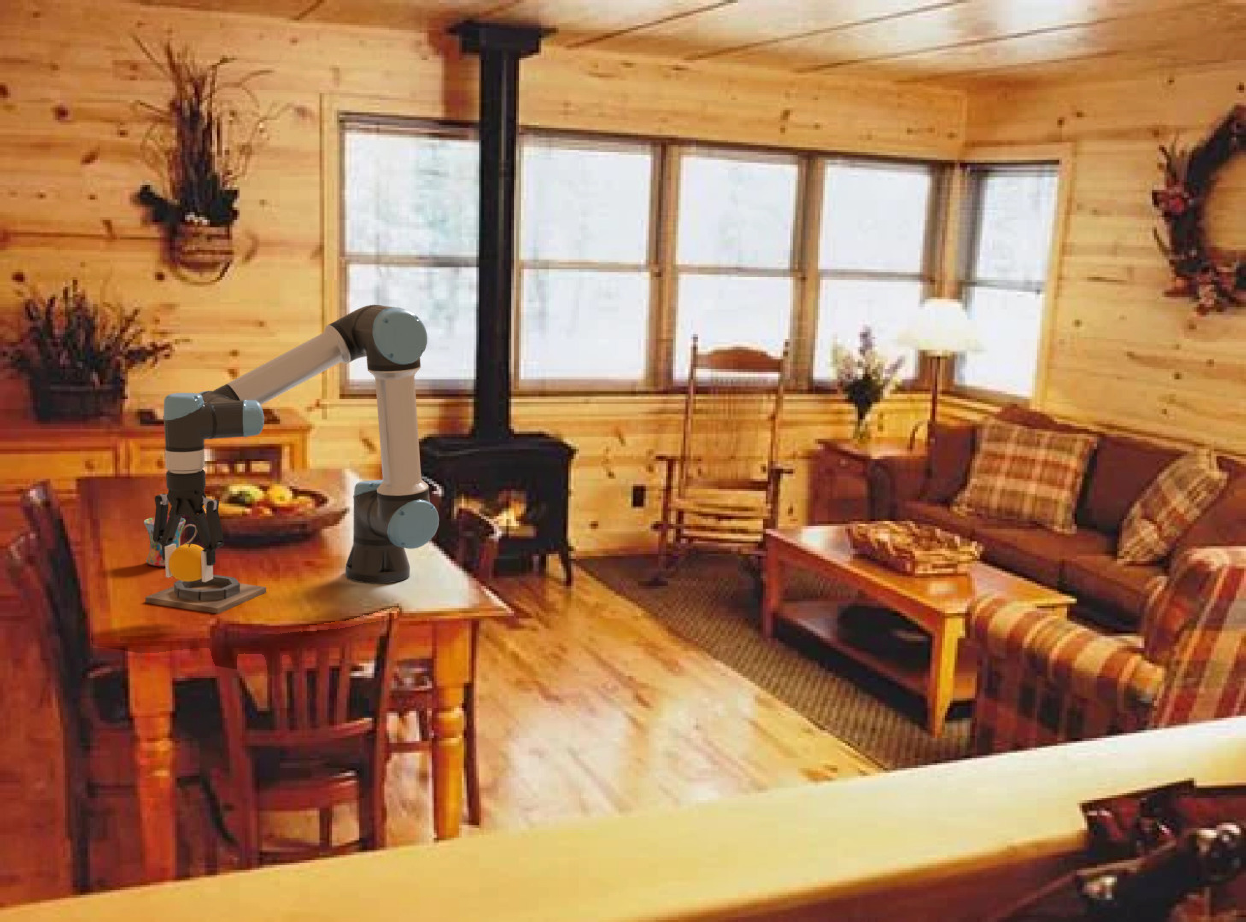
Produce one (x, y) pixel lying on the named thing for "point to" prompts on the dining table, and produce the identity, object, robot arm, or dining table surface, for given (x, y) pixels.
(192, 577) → the orange fruit
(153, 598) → the ring board
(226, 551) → the dining table surface
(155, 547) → the mug
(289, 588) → the dining table surface
